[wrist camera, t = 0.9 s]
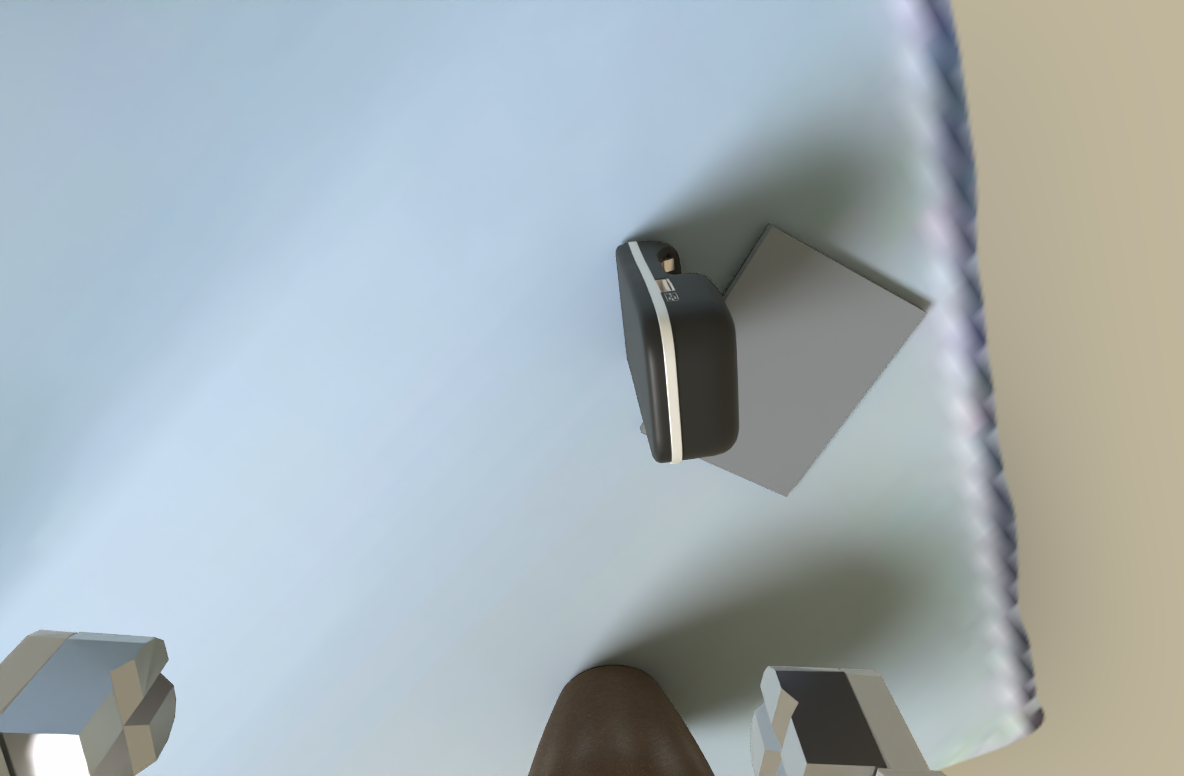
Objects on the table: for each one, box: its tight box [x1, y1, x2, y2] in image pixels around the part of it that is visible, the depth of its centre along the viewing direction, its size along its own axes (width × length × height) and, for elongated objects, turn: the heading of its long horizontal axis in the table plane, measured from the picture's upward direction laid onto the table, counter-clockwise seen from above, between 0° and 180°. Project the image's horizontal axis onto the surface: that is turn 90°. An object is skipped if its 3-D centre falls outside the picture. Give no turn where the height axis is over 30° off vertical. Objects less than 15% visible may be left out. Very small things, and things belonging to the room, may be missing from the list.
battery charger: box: [616, 241, 739, 464], centre depth 33 cm, size 7×4×11 cm, turn 7°
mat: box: [640, 224, 926, 497], centre depth 40 cm, size 10×13×1 cm
